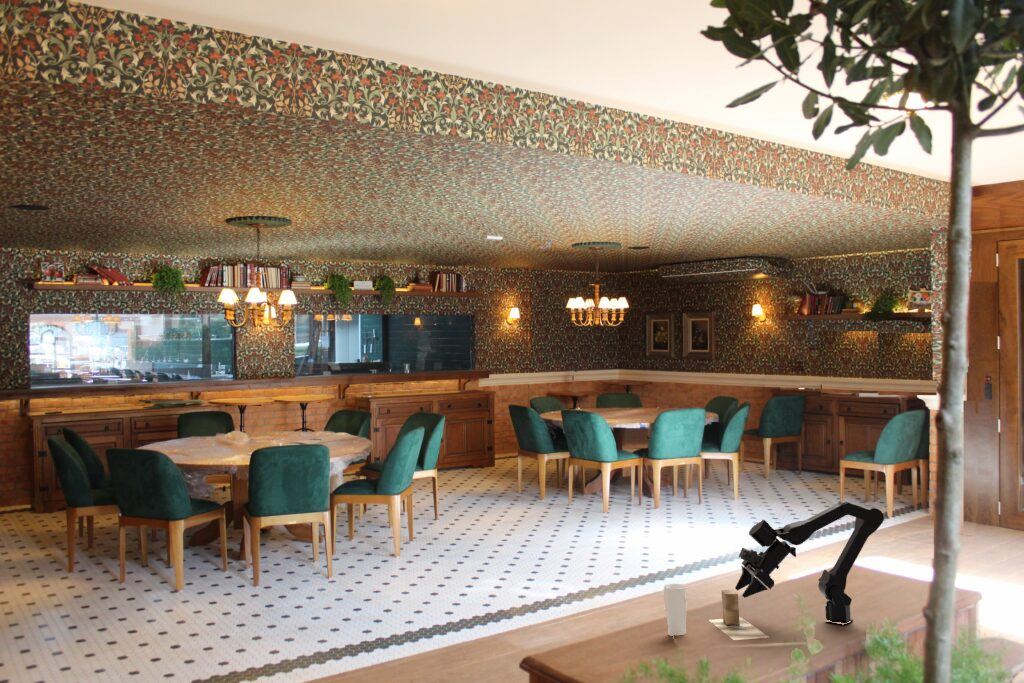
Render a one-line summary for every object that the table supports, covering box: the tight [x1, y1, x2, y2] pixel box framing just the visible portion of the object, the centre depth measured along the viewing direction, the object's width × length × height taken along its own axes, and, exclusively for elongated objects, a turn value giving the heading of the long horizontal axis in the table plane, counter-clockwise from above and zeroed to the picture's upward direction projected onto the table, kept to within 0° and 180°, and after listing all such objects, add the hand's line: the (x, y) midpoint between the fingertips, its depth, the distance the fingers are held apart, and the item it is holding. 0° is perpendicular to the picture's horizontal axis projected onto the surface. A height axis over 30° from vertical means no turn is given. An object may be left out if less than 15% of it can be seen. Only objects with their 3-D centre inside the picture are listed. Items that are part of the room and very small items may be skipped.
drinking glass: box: [663, 583, 688, 638], centre depth 263 cm, size 7×7×15 cm
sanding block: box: [721, 589, 740, 626], centre depth 270 cm, size 4×5×10 cm
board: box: [708, 616, 770, 641], centre depth 265 cm, size 22×11×1 cm, turn 7°
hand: (739, 592), depth 270 cm, fingers open, 9 cm apart
